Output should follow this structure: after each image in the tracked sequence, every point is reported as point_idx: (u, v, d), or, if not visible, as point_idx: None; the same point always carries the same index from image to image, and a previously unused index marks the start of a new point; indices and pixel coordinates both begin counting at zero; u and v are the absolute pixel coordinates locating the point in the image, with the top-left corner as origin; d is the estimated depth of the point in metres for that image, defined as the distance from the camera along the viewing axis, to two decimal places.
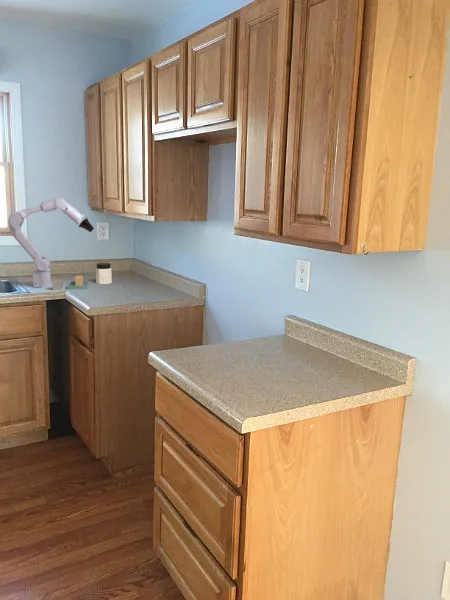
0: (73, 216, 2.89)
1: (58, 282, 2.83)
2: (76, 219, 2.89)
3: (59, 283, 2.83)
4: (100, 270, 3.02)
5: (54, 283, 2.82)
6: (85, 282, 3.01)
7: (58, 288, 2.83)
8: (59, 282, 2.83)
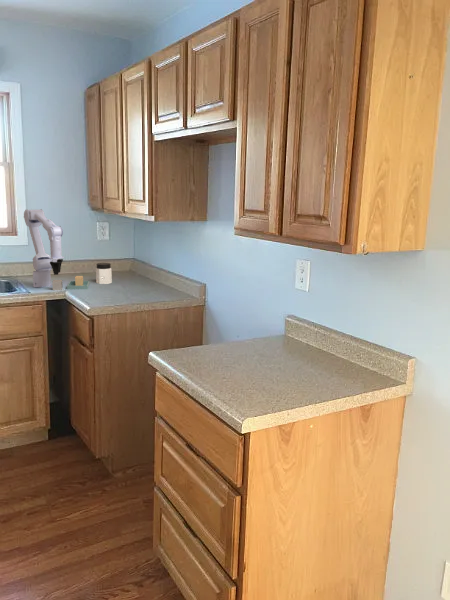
0: (54, 251, 2.78)
1: (58, 282, 2.83)
2: (53, 255, 2.79)
3: (59, 283, 2.83)
4: (100, 270, 3.02)
5: (54, 283, 2.82)
6: (85, 282, 3.01)
7: (58, 288, 2.83)
8: (59, 282, 2.83)
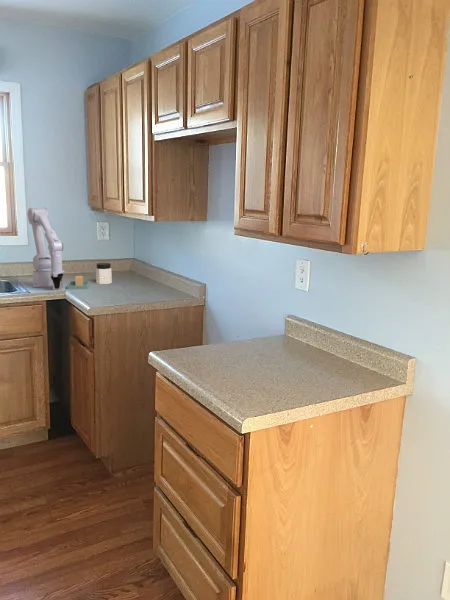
0: (54, 265, 2.80)
1: None
2: (54, 270, 2.80)
3: None
4: (100, 270, 3.02)
5: None
6: (85, 282, 3.01)
7: None
8: None
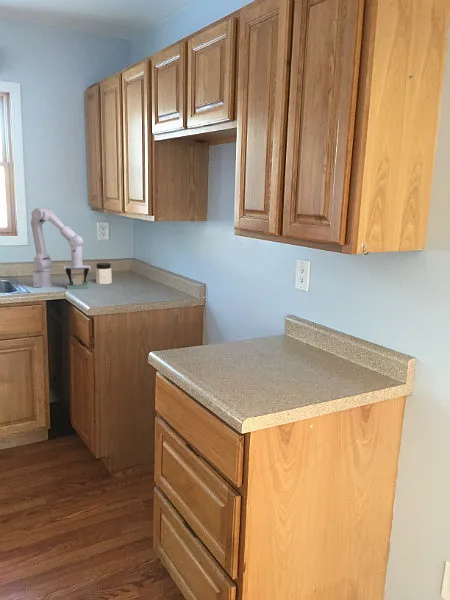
0: None
1: (73, 279, 2.88)
2: None
3: (73, 281, 2.88)
4: (100, 270, 3.02)
5: None
6: (85, 282, 3.01)
7: None
8: (73, 279, 2.88)
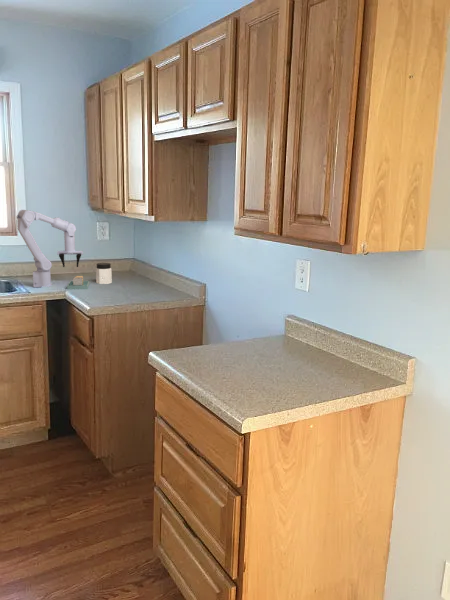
0: None
1: (73, 279, 2.88)
2: None
3: (73, 281, 2.88)
4: (100, 270, 3.02)
5: None
6: (85, 282, 3.01)
7: None
8: (73, 279, 2.88)
